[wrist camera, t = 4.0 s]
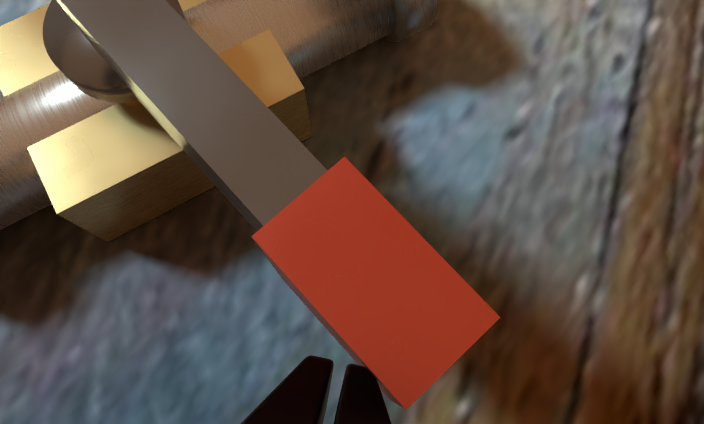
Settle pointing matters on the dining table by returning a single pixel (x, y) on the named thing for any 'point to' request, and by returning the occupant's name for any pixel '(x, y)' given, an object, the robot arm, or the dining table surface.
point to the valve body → (142, 128)
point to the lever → (281, 192)
